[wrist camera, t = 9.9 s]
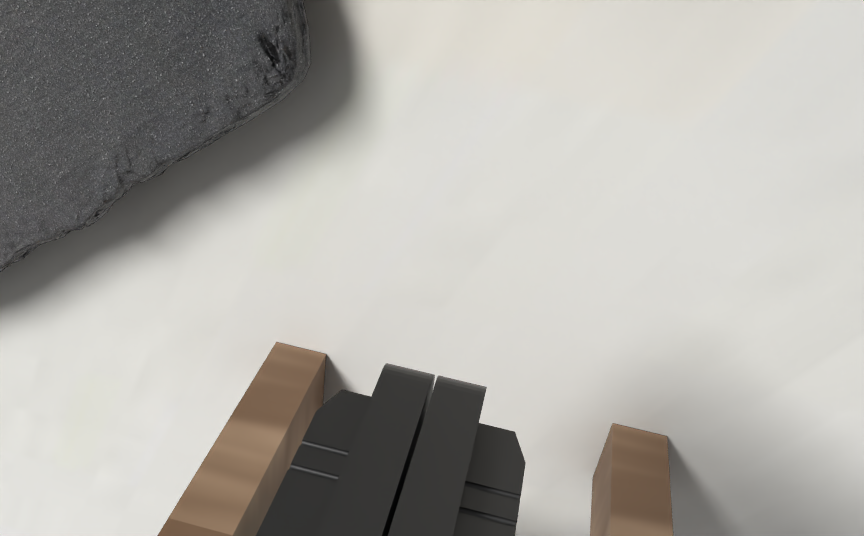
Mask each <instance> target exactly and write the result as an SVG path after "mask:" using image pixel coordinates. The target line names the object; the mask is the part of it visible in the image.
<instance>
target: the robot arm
mask: <svg viewBox="0 0 864 536" xmlns="http://www.w3.org/2000/svg"><path fill="white" fill-rule="evenodd" d="M434 378H435V375H433V374H429V373H425V372H421V371H417V370H412V369H408V368H404V367H400V366H396V365H392V364H385V366H384V368H383V370H382V372H381V375H380V377H379V379H378V382H377V384H376V387H375V389H374V392H373V394H372V397H370V396H366V395H362V394H358V393H354V392H350V391H346V390H341V391H340V392H339V393H337V394H336V395H335V396H334V397H333V398H331V399H330V400H329V401H328V402H327V403H325V404H324V405H323V406H322V407H320V408H319V409H318V410H317V411H316V412H315V415H314V417H313V419H312V421H311V423H310V425H309V427H308V429H307V431H306V433H305V435H304V437H303V439H302V444H301V445H299V448H298V450H297V452H296V454H295V456H294V458H293V460H292V462H291V466H290V469H288V470H287V472H286V474H285V476H284V478H283V481H282V483H281V485H280V487H279V489H278V491H277V493H276V495H275V497H274V499H273V501H272V503H271V505H270V507H269V509H268V511H267V513H266V516H265V518H264V520H263V522H262V524H261V526H260V528H259V530H258V532H257V534H256V536H515V531H516V523H517V517H518V510H519V504H520V496H521V490H522V483H523V476H524V469H525V460H524V457H523V454H522V451H521V448H520V446H519V443H518V440H517V437H516V434H515V432H513V431H509V430H505V429H501V428H497V427H493V426H489V425H485V424H481V423H479V419H480V414H481V410H482V406H483V401H484V397H485V392H486V388H487V387H484V386H480V385H476V384H472V383H467V382H463V381H459V380H455V379H451V378H447V377H442V376H438V377H437V380H436V383H435V386H434V389H433V385H434ZM432 391H433V393H432Z"/></svg>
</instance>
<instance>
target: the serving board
mask: <svg viewBox="0 0 864 536" xmlns="http://www.w3.org/2000/svg"><path fill="white" fill-rule="evenodd" d="M310 64H311V55H310V40H309V27H308V22H307V17H306V13H305V8H304V3H303V0H0V272H1V271H2V270H3V269H5V268H6V267H7V266H9V265H10V264H12V263H15V262H17V261H20V260H22V259H23V258H24V257H25V256H26V255H27V254H29V253H30V252H31V251H32V250H34V249H35V248H36V247H37V246H39V245H41V244H43V243H46V242H49V241H51V240H57V239H58V238H62V237H65V236H66V235H67V234H68V233H69V232H70V231H71V230H80V229H83V228H84V227H88V226H90V225H91V224H93V223H94V222H96V221H97V220H99V219H100V218H101V217H102V216H103V215H104V214H106V213H107V212H108V210H109V209H110V207H111V206H112V205H113V203H114V202H115V201H116V200H118V199H119V198H121V197H123V196H124V195H125V194H126V193H127V192H128V190H129V189H130V188H131V186H132V185H133V184H134V183H139V182H144V181H146V180H150V179H152V178H154V177H156V176H158V175H160V174H163V172H164V171H165V170H166V168H167V167H168V166H169V165H171V164H172V163H174V162H177V161H180V160H183V159H186V158H187V157H189V156H190V155H192V154H194V153H195V152H197V151H199V150H201V149H202V148H204V147H206V146H208V145H210V144H211V143H213V142H214V141H216V140H217V139H219V138H220V137H222V136H223V135H225V134H227V133H229V132H230V131H232V130H234V129H236V128H238V127H239V126H241V125H243V124H245V123H246V122H248V121H250V120H252V119H253V118H255V117H256V116H258V115H260V114H261V113H263V112H265V111H266V110H267V109H269V108H271V107H272V106H274V105H275V104H277V103H278V102H280V101H281V100H283V99H284V98H285V97H286V96H287V95H288V94H289V93H290V92H291V91H292V90H293V89H294V88H295V87H296V86H297V85H298V84H299V83H300V82H302V81H303V80H304V79H305V76H306V74H307V71H308V69H309V67H310Z"/></svg>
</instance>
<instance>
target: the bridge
mask: <svg viewBox="0 0 864 536" xmlns="http://www.w3.org/2000/svg"><path fill="white" fill-rule="evenodd" d="M325 363H326V354H323V353H319V352H315V351H311V350H307V349H303V348H299V347H294V346H290V345H286V344H282V343H278V342H276V343H275V345H274V347H273V348H272V350H271V352H270V353H269V355H268V357H267V358H266V360H265V361H264V363H263V365H262V366H261V368H260V370H259V371H258V373H257V374H256V376H255V378H254V379H253V381H252V383H251V384H250V386H249V387H248V389H247V391H246V392H245V394H244V396H243V397H242V399H241V401H240V402H239V404H238V405H237V407H236V409H235V410H234V412H233V414H232V415H231V417H230V418H229V420H228V422H227V423H226V425H225V427H224V428H223V430H222V432H221V433H220V435H219V436H218V438H217V440H216V441H215V443H214V445H213V446H212V448H211V449H210V451H209V453H208V454H207V456H206V458H205V459H204V461H203V462H202V464H201V466H200V467H199V469H198V471H197V472H196V474H195V476H194V477H193V479H192V480H191V482H190V484H189V485H188V487H187V489H186V490H185V492H184V493H183V495H182V497H181V498H180V500H179V502H178V503H177V505H176V506H175V508H174V510H173V511H172V513H171V515H170V516H169V518H168V520H167V521H166V523H165V524H164V526H163V528H162V529H161V531H160V533H159V534H158V536H256V534H257V532H258V530H259V528H260V526H261V524H262V522H263V520H264V518H265V516H266V513H267V511H268V509H269V507H270V505H271V503H272V501H273V499H274V497H275V495H276V493H277V491H278V489H279V487H280V485H281V483H282V481H283V478H284V476H285V474H286V472H287V470H288V469H290V466H291V462H292V460H293V458H294V456H295V454H296V452H297V450H298V448H299V445H301V444H302V439H303V437H304V435H305V433H306V431H307V429H308V427H309V425H310V423H311V421H312V419H313V417H314V415H315V412H316V411H317V410H318V409H319V408H320V407H322V406H323V394H324V378H325ZM590 536H673V524H672V508H671V491H670V475H669V459H668V442H667V436H663V435H659V434H655V433H651V432H647V431H643V430H638V429H634V428H630V427H626V426H622V425H618V424H614V423H612V426H611V429H610V432H609V434H608V437H607V440H606V443H605V445H604V448H603V451H602V454H601V457H600V459H599V462H598V465H597V468H596V470H595V473H594V476H593V484H592V505H591V526H590Z"/></svg>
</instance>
